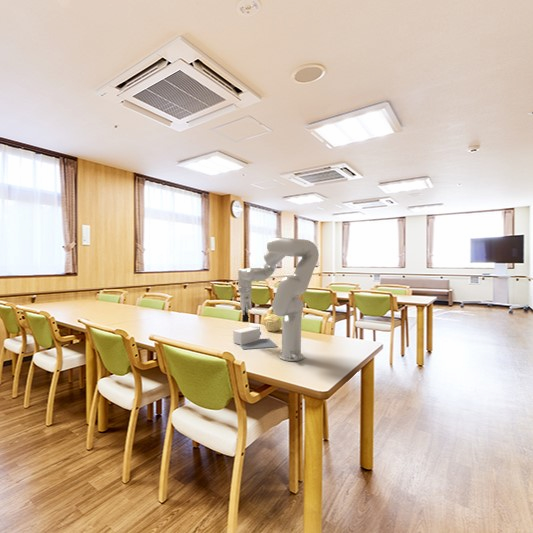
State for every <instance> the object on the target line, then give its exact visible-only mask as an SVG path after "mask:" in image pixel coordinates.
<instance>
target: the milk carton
mask: <svg viewBox="0 0 533 533" xmlns="http://www.w3.org/2000/svg"><path fill="white" fill-rule="evenodd" d="M232 332H233V335H232V336H233V337H232V339H233V340H232V341H233V343H234V344H237V345H239V346H240V345H243V344H247V343H251V342H254V341H258V340H259V339H261V335H262V331H261V326H249V327H248V326H247V327H244V328H240V329H235V330H232Z"/></svg>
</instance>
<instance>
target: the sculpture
mask: <svg viewBox="0 0 533 533" xmlns="http://www.w3.org/2000/svg"><path fill="white" fill-rule="evenodd" d="M263 326H264V327H265V329H266V330H267V331H268V332H271V333H272V332H273V333H274V332H278V331H280V330H281V329H282V320H281V318H280V317H279V316H277V315H268V316H265V317H264V319H263Z"/></svg>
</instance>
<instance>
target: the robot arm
mask: <svg viewBox="0 0 533 533" xmlns="http://www.w3.org/2000/svg"><path fill="white" fill-rule="evenodd" d="M266 249H267V251H266V252H265V253H264V254H263V258H264V261H265V264H264V265H263V266H261V267H251V268H239V269H238V272H237V273H238V279H237V281H238V282H237V283H238V285H237V286H238V293H239V294H240V295H239V298H240V299H239V300H240V301H239V303H240V304H239V306H240V309H241V310H242V312H241V314H242V322H243V323H249V310H250V311H252V295H251V294H252V287H253V286H252V283H253V282H263V281H266V280H267V279H268V278H270V277H271V276H272V275H273V274H274V272H275V271H276V267H277V265H278V264H279V263H280V262H281V261H282V260H283V259H284V258H286V257H291V258H292V257H295V258H301V259H299V261H298V263H297V265H296V267H295V270H294V273H293V274H292V275H288V276H285V277H283V278H282V279H281V280H280V281H279V283H278V285H277V289H276V290H275V291H276V292H275V293H274V294H275V295H274V298H273V300H272V305H271V306H272V307H271V308H272V309H271V310H272V311H273V314H275V316H277V317H283V318H282V321H281V331H282V332H281V338H282V339H281V341H282V342H281V352H280V353H278V357H279V359H280V360H282V361H288V362H299V361H302V360H304V358H305V354H303V353H302V317H303V312H304V311H303V310H304V302H303V300H302V298H301V297H300V296H301V295H304V294H305V293H306V292H307V291H308V288H309V284H310V282H311V279H312V276H313V274H314V271H315V268H316V266H317V264H318V261H319V249H318V247H317V245H316V244H315V243H314V242H312V241H311V240H309V239H303V238H289V237H288V238H287V237H279V236H274V237H271V238H270V239H269V240H268V241H267V244H266Z"/></svg>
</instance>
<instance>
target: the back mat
mask: <svg viewBox="0 0 533 533" xmlns="http://www.w3.org/2000/svg"><path fill="white" fill-rule="evenodd" d="M239 347H241V349H242V350H257V349H270V348H278V345H277V344H276V343H275V342H274V341H273V340H272V339H270V337H269V338H259V340H258V341H254V342H251V343H247V344H243V345H240V344H239Z"/></svg>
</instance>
